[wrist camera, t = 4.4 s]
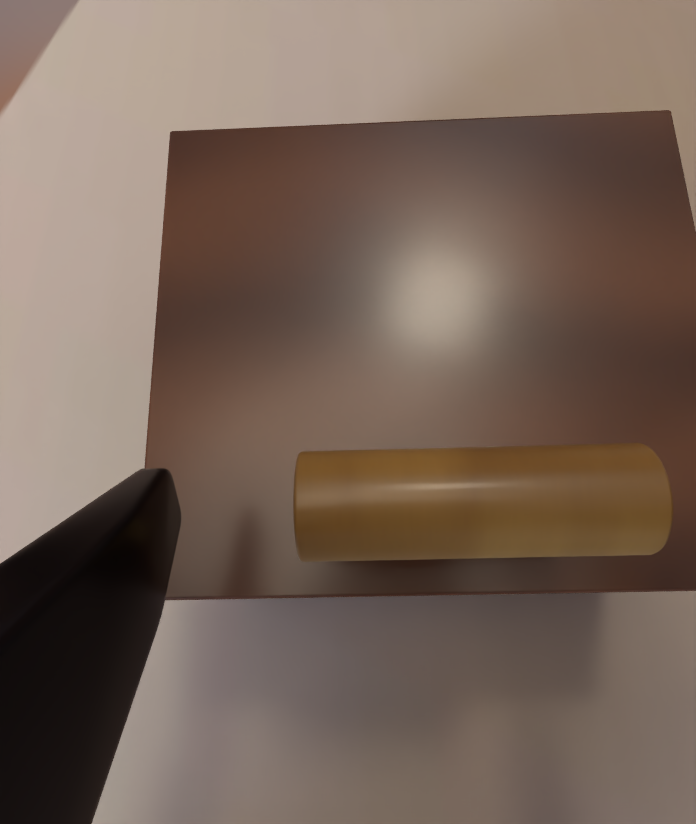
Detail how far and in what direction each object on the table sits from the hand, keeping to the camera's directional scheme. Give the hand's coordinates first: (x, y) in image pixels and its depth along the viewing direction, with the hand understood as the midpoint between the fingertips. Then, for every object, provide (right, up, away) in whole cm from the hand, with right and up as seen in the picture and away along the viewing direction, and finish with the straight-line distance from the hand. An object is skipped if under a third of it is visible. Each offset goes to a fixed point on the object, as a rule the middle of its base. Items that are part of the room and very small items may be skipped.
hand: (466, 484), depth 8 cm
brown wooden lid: (0, +3, +4) cm, 5 cm away
